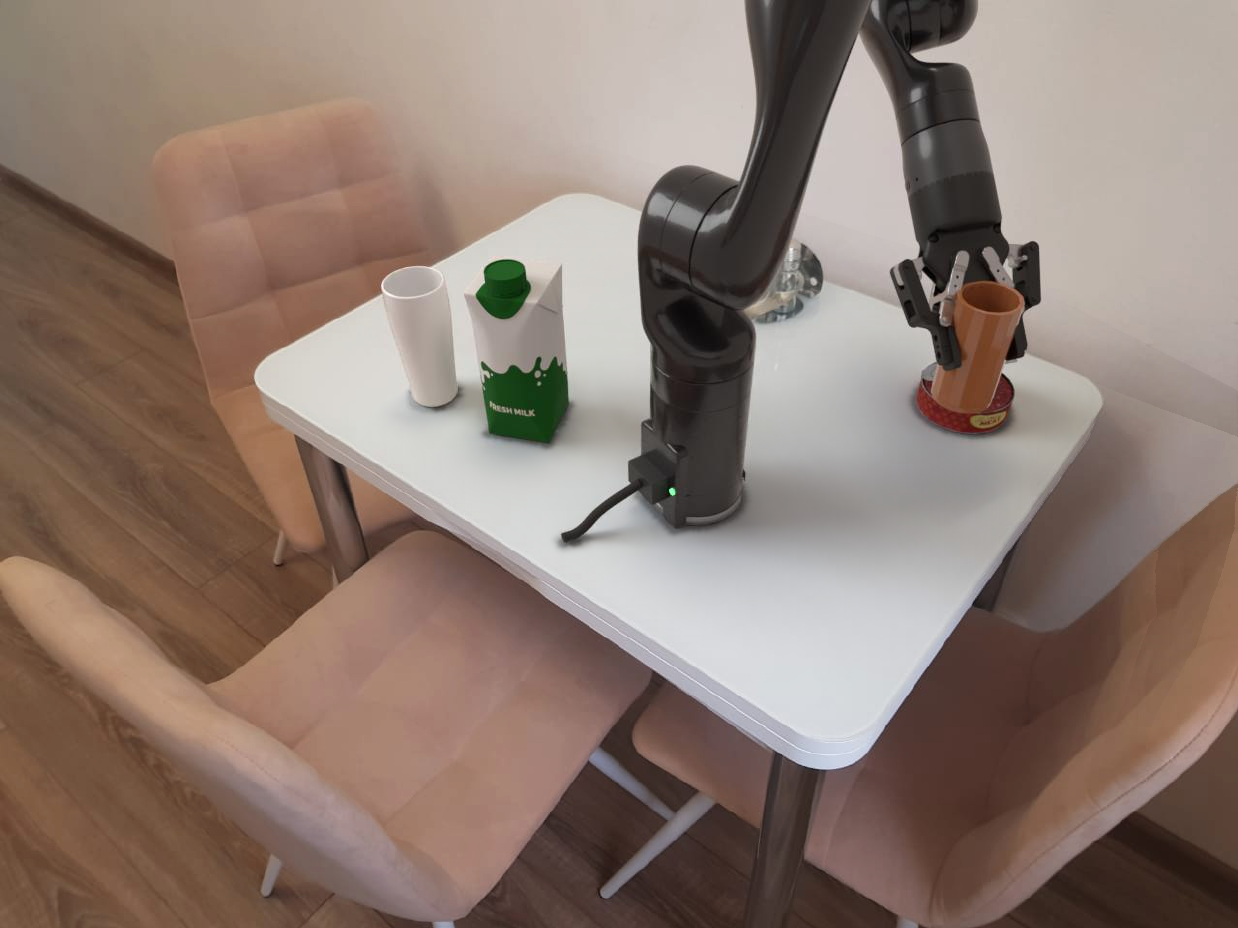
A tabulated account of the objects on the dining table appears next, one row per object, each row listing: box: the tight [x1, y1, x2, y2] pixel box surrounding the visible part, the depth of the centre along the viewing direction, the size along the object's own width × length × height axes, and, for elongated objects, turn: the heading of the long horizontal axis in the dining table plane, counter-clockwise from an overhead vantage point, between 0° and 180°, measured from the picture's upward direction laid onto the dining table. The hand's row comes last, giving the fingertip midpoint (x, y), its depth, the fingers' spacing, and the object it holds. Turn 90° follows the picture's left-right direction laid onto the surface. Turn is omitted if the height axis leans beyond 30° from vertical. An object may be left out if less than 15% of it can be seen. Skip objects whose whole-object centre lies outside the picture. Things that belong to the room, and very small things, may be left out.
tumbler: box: [931, 281, 1025, 413], centre depth 82 cm, size 6×6×11 cm
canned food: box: [915, 359, 1018, 435], centre depth 97 cm, size 11×10×10 cm
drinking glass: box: [380, 265, 459, 408], centre depth 97 cm, size 7×7×15 cm
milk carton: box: [463, 254, 570, 444], centre depth 92 cm, size 9×9×20 cm
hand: (984, 363), depth 81 cm, fingers closed on tumbler, 5 cm apart
